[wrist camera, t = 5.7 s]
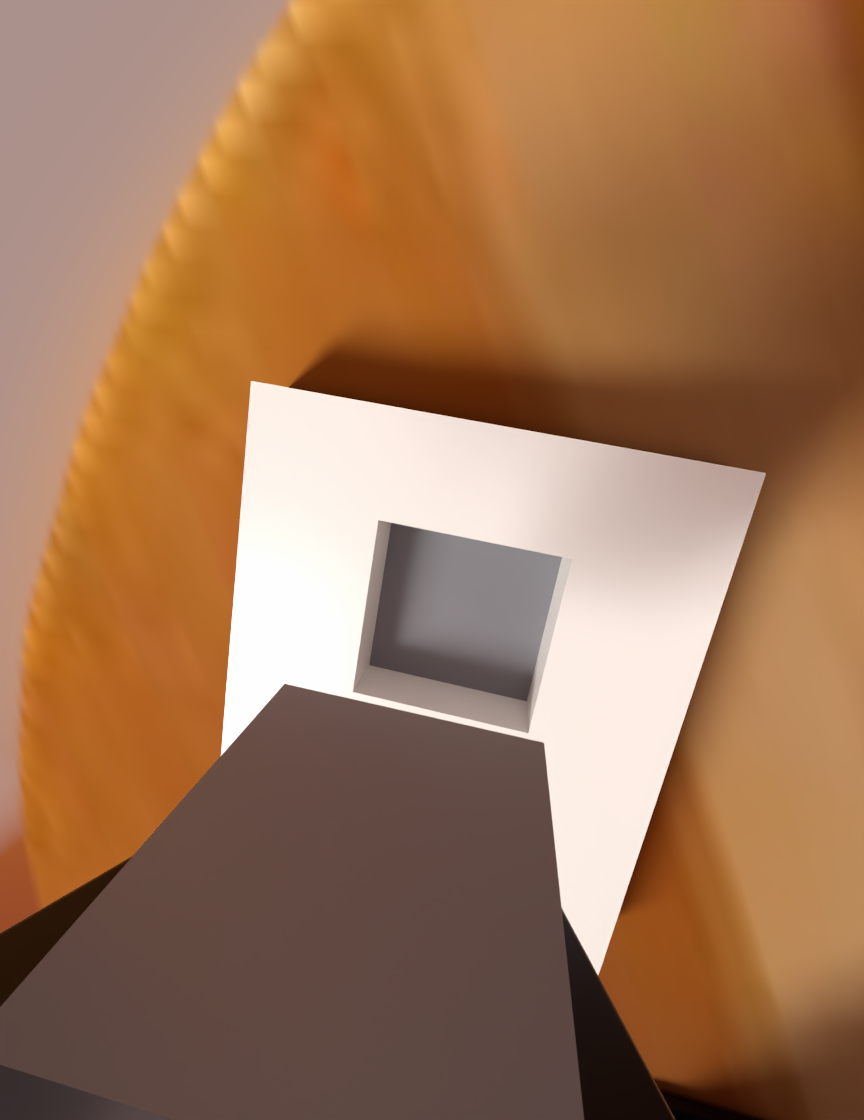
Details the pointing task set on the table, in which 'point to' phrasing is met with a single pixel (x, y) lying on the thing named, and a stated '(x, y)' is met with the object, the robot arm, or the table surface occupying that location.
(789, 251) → the table surface
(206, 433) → the table surface
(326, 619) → the socket plate
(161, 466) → the table surface
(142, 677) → the table surface
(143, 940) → the block
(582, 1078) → the robot arm
